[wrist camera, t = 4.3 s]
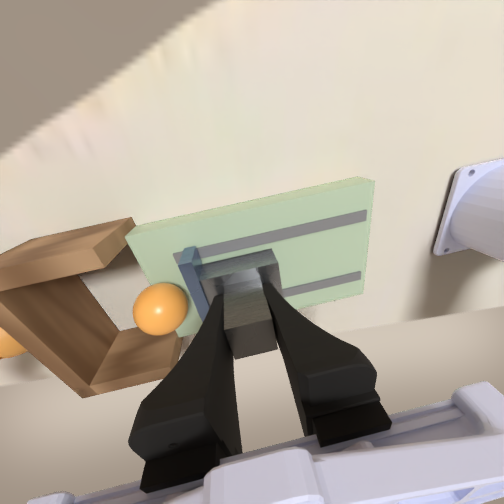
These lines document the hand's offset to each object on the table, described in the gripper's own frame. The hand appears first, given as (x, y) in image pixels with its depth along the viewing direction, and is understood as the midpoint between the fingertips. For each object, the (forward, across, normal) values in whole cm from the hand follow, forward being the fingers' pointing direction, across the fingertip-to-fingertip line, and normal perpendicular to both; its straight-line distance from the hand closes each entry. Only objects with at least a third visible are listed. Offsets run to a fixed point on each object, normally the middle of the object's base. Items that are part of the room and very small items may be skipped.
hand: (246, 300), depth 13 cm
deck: (+5, -2, 0) cm, 5 cm away
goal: (+5, +10, 0) cm, 12 cm away
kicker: (+3, 0, 0) cm, 3 cm away
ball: (+1, +6, 0) cm, 6 cm away
